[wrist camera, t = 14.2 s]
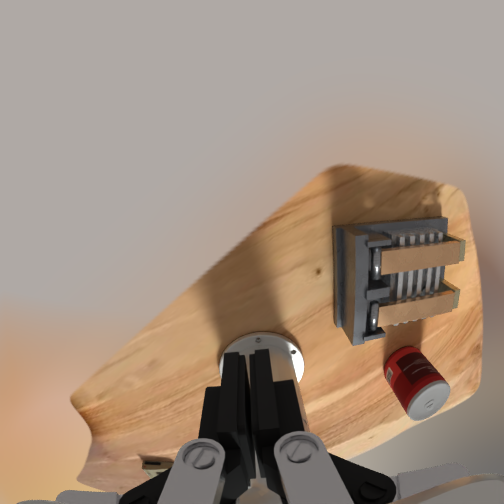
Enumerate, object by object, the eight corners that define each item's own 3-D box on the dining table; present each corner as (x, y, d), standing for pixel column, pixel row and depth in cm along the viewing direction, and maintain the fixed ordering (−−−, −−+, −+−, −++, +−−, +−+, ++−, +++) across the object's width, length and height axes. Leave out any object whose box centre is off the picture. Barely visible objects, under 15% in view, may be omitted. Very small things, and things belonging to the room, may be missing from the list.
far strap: (447, 311, 34) (451, 314, 33) (366, 327, 35) (369, 332, 33) (451, 286, 33) (455, 289, 32) (368, 301, 34) (371, 305, 32)
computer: (198, 491, 53) (197, 501, 50) (169, 490, 54) (167, 499, 50) (175, 460, 49) (173, 471, 46) (143, 459, 50) (140, 469, 46)
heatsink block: (435, 302, 40) (459, 321, 33) (334, 322, 40) (348, 348, 33) (441, 216, 37) (471, 225, 30) (332, 225, 37) (350, 237, 30)
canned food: (395, 387, 44) (419, 426, 34) (374, 368, 43) (400, 411, 32) (426, 359, 43) (456, 394, 33) (408, 336, 42) (441, 374, 31)
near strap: (453, 264, 32) (458, 267, 31) (369, 276, 33) (372, 280, 32) (455, 236, 31) (461, 238, 30) (369, 245, 32) (373, 248, 31)
